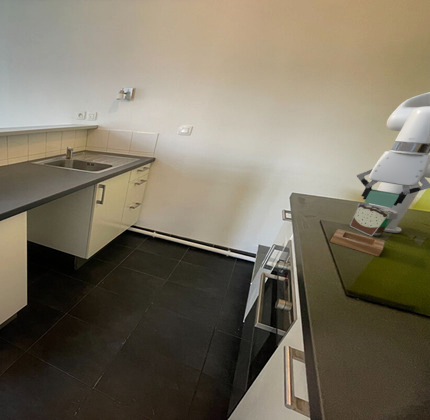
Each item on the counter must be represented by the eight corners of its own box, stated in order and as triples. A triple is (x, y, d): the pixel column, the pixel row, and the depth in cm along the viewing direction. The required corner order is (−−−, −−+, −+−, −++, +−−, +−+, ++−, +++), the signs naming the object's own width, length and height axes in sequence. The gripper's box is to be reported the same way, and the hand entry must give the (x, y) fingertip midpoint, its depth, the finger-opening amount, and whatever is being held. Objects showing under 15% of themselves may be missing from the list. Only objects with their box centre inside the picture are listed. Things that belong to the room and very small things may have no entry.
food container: (395, 240, 90) (411, 215, 86) (375, 238, 91) (390, 213, 87) (363, 226, 101) (376, 204, 97) (346, 224, 102) (358, 202, 98)
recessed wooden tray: (334, 234, 92) (338, 228, 91) (380, 247, 84) (384, 241, 83) (329, 241, 86) (333, 235, 85) (378, 256, 78) (382, 249, 77)
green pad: (365, 199, 88) (371, 189, 87) (392, 205, 84) (399, 193, 82) (364, 202, 85) (370, 191, 83) (391, 207, 80) (398, 196, 79)
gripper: (458, 152, 73) (421, 208, 80) (369, 144, 86) (344, 193, 92) (461, 153, 69) (421, 212, 75) (367, 145, 82) (341, 196, 88)
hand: (379, 201), depth 84 cm, fingers closed on green pad, 6 cm apart
